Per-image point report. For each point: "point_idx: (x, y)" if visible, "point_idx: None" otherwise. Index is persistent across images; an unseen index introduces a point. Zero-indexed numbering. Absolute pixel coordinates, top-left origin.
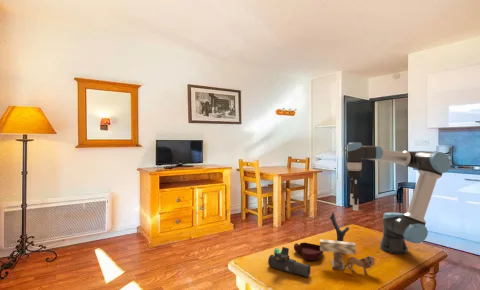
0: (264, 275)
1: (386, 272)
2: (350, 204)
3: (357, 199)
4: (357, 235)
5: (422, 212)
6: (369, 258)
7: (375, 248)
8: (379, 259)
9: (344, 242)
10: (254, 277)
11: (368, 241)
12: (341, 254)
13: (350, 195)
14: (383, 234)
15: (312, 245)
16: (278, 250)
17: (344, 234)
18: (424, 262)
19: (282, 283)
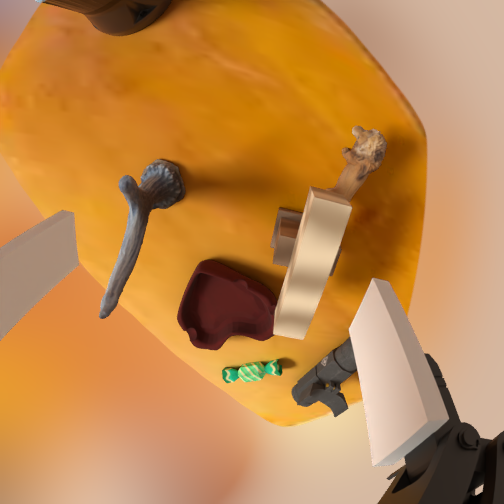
0: (347, 393)
1: (344, 79)
2: (76, 264)
3: (433, 415)
4: (32, 103)
5: None
6: (383, 153)
7: (126, 51)
8: (229, 57)
9: (313, 248)
10: (352, 404)
11: (70, 69)
12: (340, 251)
13: (6, 333)
14: (95, 13)
15: (187, 297)
16: (234, 377)
17: (141, 191)
18: None
19: None
